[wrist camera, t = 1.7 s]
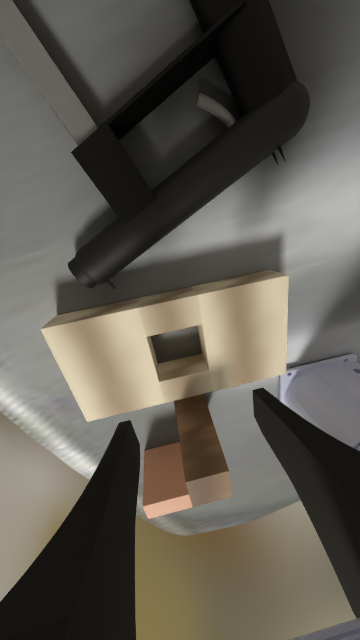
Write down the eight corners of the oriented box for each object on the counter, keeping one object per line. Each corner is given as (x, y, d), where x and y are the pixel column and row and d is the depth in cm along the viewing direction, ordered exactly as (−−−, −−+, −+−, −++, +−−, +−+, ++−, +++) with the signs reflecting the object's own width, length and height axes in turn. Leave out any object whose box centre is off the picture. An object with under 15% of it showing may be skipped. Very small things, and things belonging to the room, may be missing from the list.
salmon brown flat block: (189, 438, 27) (199, 491, 21) (192, 450, 28) (203, 504, 22) (144, 450, 26) (142, 506, 21) (149, 462, 27) (148, 518, 22)
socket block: (269, 269, 19) (288, 275, 17) (270, 357, 23) (286, 373, 21) (57, 315, 19) (40, 329, 16) (94, 398, 22) (87, 421, 20)
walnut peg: (202, 389, 24) (228, 470, 16) (205, 411, 25) (232, 496, 17) (173, 396, 24) (185, 482, 16) (178, 418, 25) (192, 507, 17)
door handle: (-120, 66, 11) (98, 305, 16) (197, -293, 8) (333, 127, 13) (-57, 107, 14) (108, 296, 19) (187, -145, 11) (300, 150, 17)
